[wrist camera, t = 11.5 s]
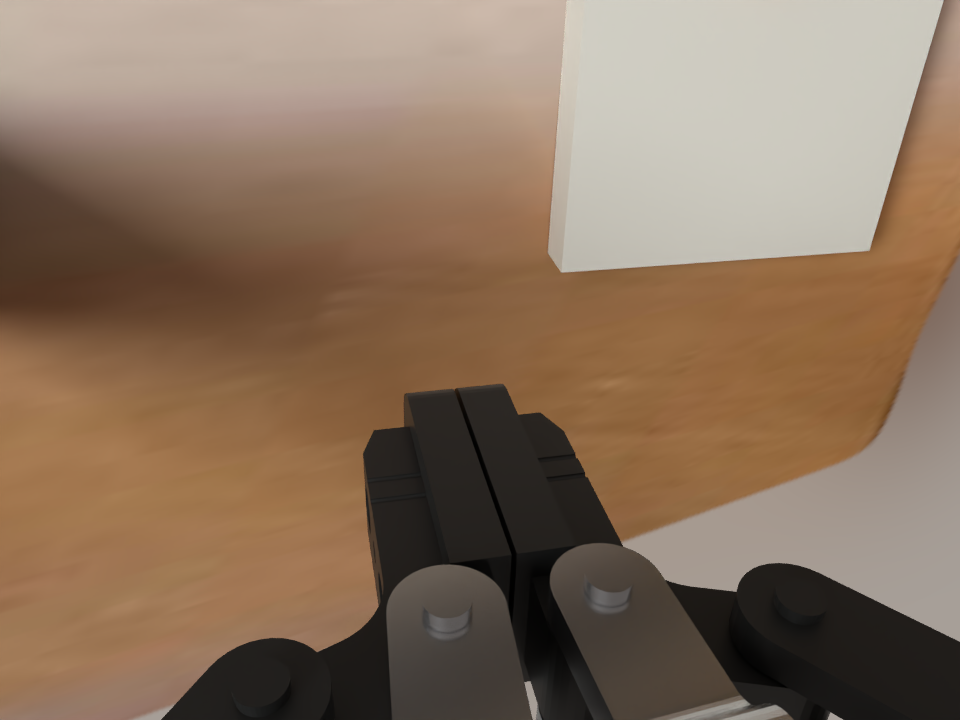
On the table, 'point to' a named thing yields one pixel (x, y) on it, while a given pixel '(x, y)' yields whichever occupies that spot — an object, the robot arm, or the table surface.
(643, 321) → the table surface
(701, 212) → the hole board
